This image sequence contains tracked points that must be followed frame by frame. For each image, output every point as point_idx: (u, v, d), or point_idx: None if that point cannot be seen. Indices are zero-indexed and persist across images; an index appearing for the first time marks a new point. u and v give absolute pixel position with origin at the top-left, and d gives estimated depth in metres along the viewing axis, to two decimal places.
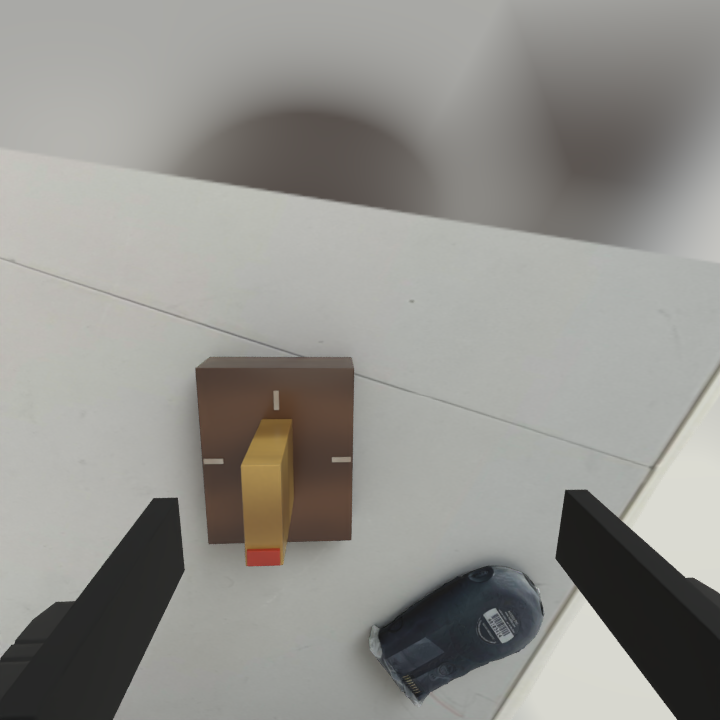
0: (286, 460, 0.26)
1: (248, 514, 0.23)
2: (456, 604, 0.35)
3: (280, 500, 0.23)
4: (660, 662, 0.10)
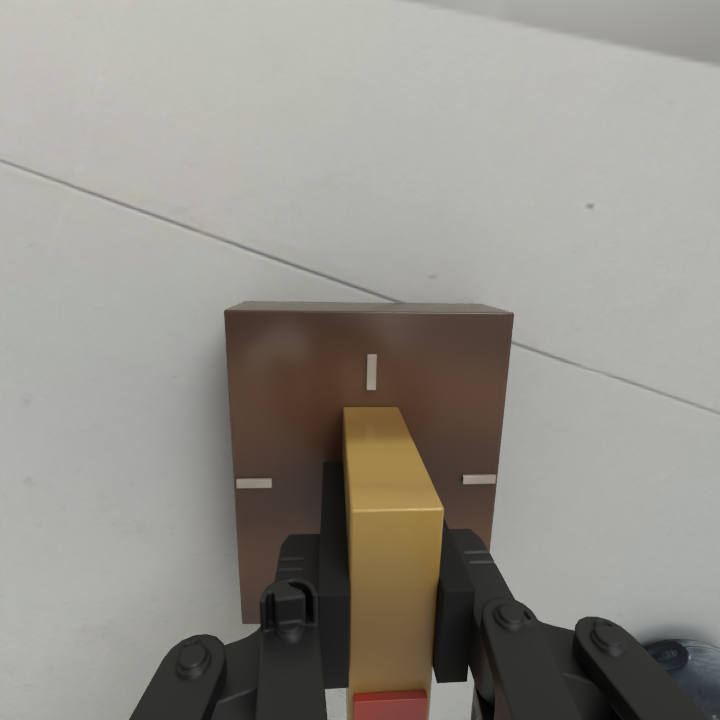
0: None
1: (361, 620, 0.10)
2: None
3: (436, 588, 0.10)
4: None
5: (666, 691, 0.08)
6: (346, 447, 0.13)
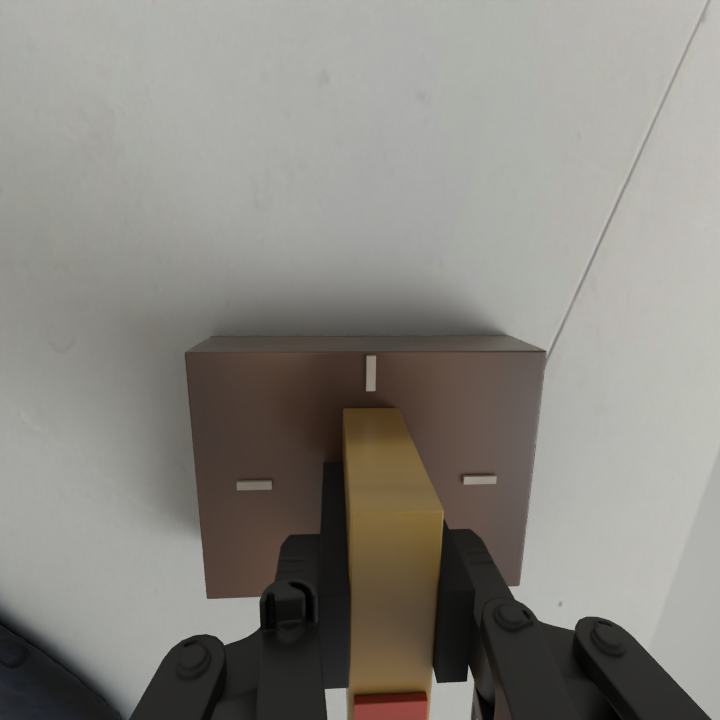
0: None
1: (361, 622, 0.10)
2: None
3: (436, 590, 0.10)
4: None
5: (667, 691, 0.08)
6: (346, 448, 0.13)
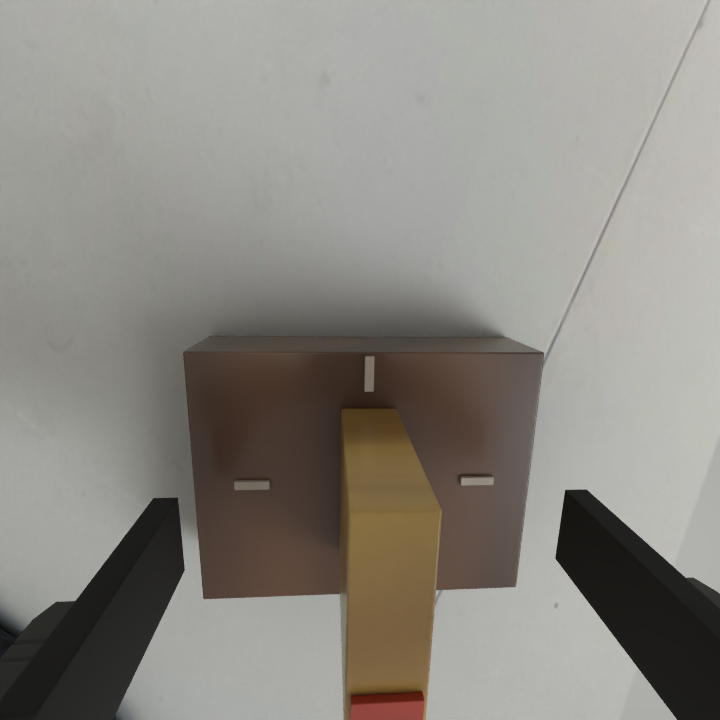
0: None
1: (359, 622, 0.10)
2: None
3: (434, 590, 0.10)
4: (660, 662, 0.10)
5: None
6: (344, 449, 0.13)
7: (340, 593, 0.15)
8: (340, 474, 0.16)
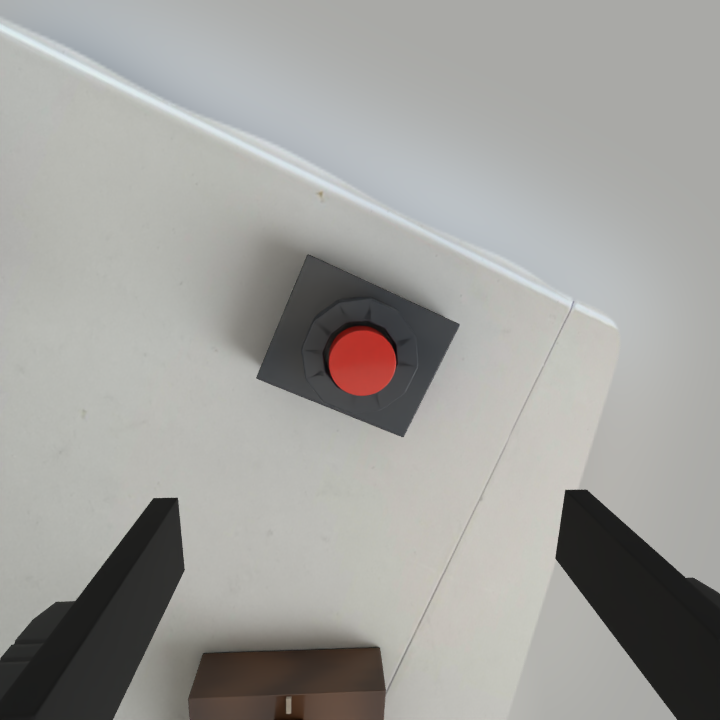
0: None
1: None
2: None
3: None
4: (660, 662, 0.10)
5: None
6: None
7: None
8: None
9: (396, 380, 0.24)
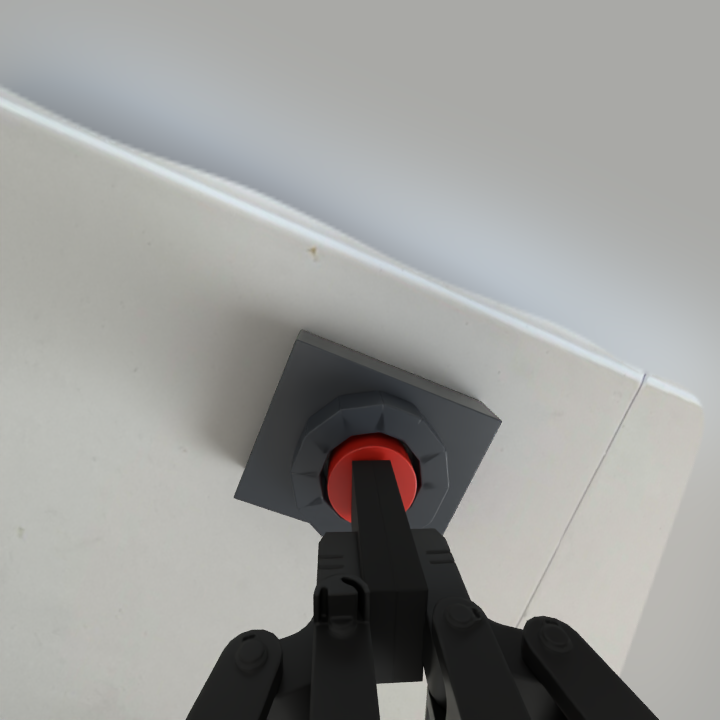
0: None
1: None
2: None
3: None
4: None
5: (611, 688, 0.08)
6: None
7: None
8: None
9: (420, 506, 0.17)
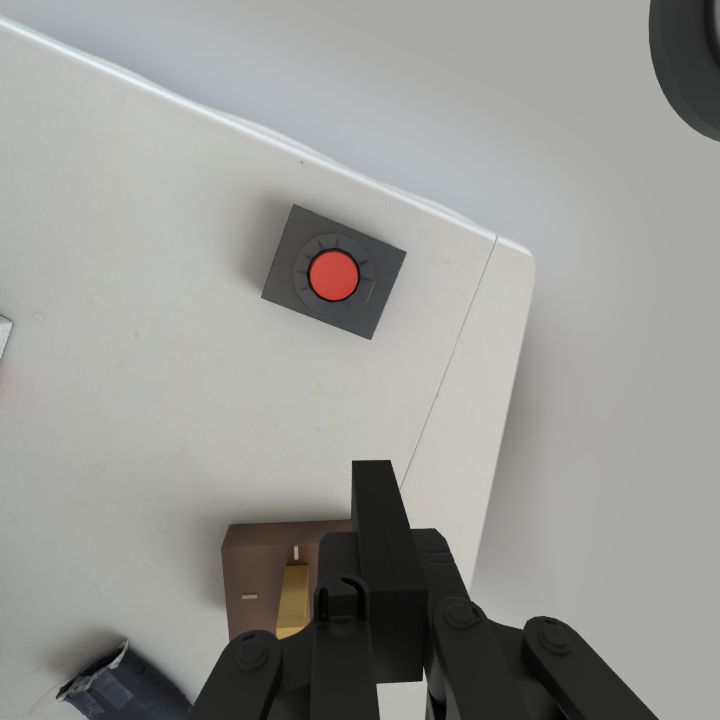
0: (306, 610, 0.36)
1: None
2: (167, 710, 0.44)
3: None
4: None
5: (610, 687, 0.08)
6: (281, 595, 0.36)
7: None
8: None
9: (360, 291, 0.33)
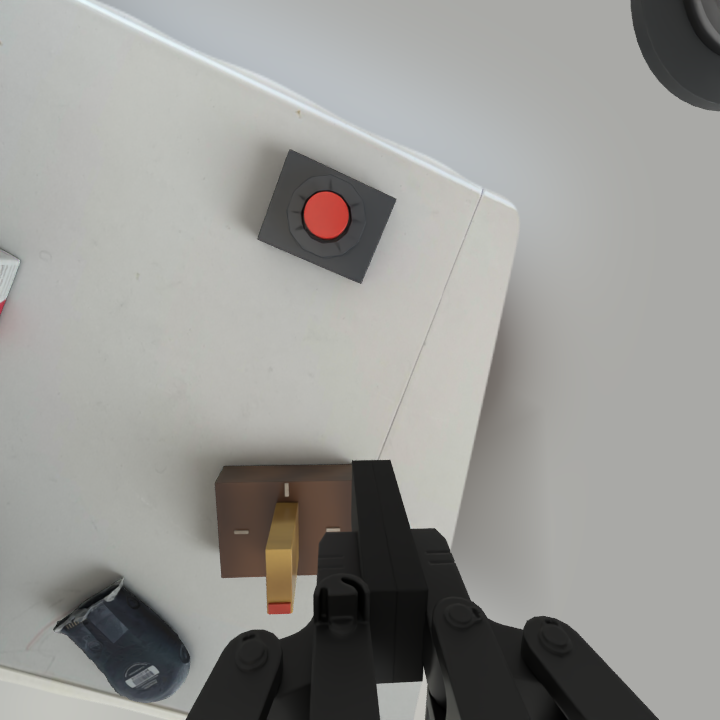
0: (294, 539, 0.38)
1: (269, 580, 0.35)
2: (160, 646, 0.45)
3: (291, 571, 0.35)
4: None
5: (610, 687, 0.08)
6: (271, 525, 0.38)
7: None
8: None
9: (351, 233, 0.35)
